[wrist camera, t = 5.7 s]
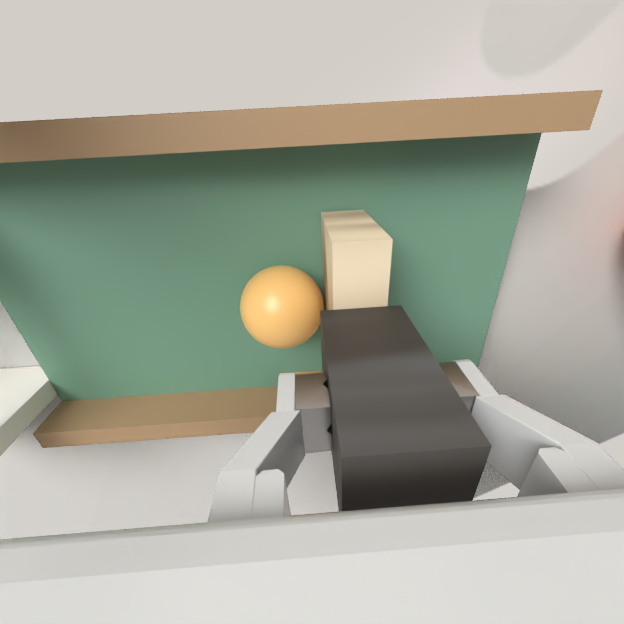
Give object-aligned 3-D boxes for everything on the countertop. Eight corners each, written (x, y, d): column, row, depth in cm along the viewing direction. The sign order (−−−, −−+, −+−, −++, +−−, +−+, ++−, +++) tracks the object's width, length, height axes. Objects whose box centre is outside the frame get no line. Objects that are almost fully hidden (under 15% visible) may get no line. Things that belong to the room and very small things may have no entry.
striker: (310, 212, 14) (341, 355, 5) (373, 208, 14) (528, 342, 5) (317, 350, 18) (341, 581, 9) (367, 347, 18) (446, 572, 9)
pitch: (-278, 145, 14) (-812, 151, 7) (527, 102, 14) (724, 70, 8) (-51, 407, 21) (-203, 525, 15) (461, 371, 22) (532, 468, 16)
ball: (240, 256, 16) (225, 289, 12) (319, 251, 16) (326, 283, 12) (251, 323, 18) (241, 369, 14) (321, 318, 18) (328, 362, 14)
